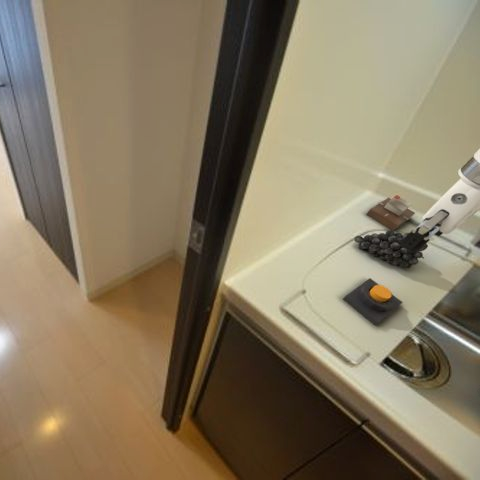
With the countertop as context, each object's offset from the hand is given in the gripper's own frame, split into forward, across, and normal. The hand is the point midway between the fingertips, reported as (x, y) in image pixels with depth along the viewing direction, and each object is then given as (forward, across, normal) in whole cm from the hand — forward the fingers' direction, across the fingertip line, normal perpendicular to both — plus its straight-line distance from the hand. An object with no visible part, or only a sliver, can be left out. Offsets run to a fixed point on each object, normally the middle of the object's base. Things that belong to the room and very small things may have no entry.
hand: (419, 239), depth 69 cm
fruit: (+17, +11, +5) cm, 21 cm away
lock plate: (+17, +27, +12) cm, 34 cm away
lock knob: (+14, +27, +12) cm, 33 cm away
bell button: (+13, -6, -3) cm, 15 cm away
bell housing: (+17, -6, -3) cm, 18 cm away
